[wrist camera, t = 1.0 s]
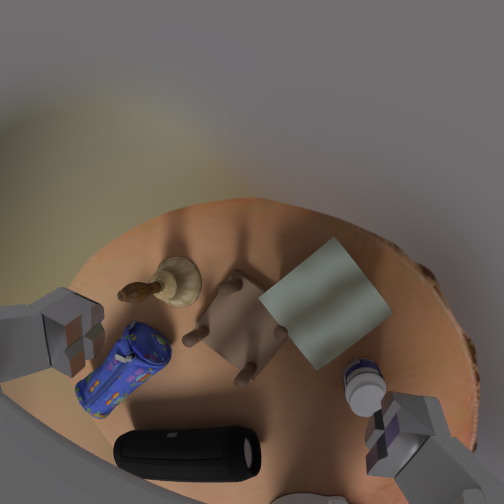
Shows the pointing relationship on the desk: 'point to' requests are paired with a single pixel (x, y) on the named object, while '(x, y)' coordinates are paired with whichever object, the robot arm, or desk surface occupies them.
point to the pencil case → (124, 369)
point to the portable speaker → (190, 454)
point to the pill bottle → (364, 386)
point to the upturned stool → (239, 328)
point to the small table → (326, 304)
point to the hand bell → (167, 284)
